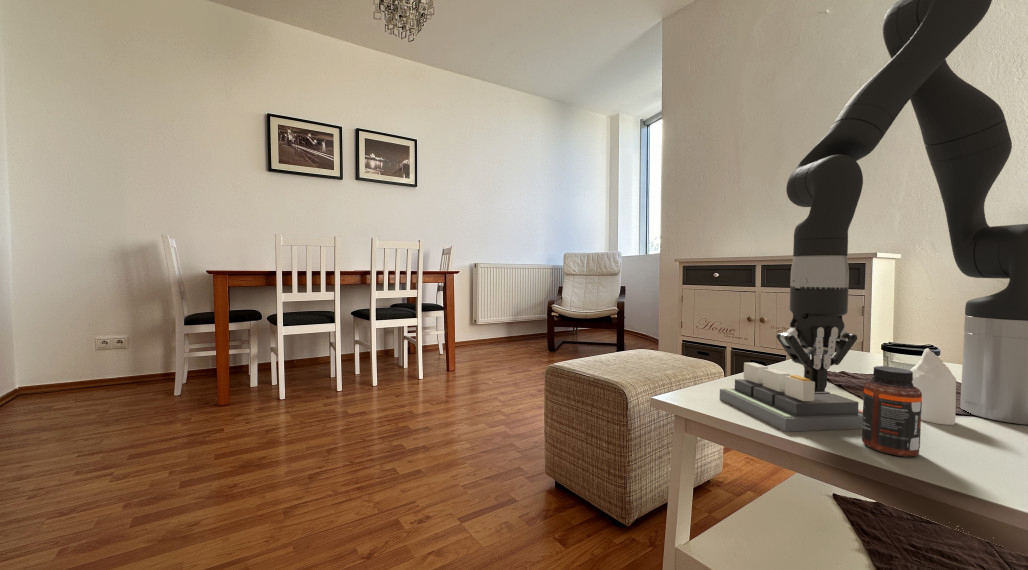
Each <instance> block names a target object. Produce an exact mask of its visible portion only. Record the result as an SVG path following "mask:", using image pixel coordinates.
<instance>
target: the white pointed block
mask: <svg viewBox="0 0 1028 570" xmlns="http://www.w3.org/2000/svg"><path fill="white" fill-rule="evenodd" d="M909 370H910V371H912V372H913V381H912V383H913V386H914V387H917V388H918V389H919V390H920V391H921V393H922V408H921V409H922V410H921V421H923V422H927V423H931V424H936V425H937V424H938V425H944V426H945V425H947V426H954V425H956V408H957V407H956V403H957V401H956V400H957V399H956V397H957V379H956V377H955V375H954V374H953V372H952V371H951V370H950V368H949V367H948V366H947V364H946V363H944V361H943V360H942V359H941V358H940V357H939V356H937V355H936V353H934V351H931V349H930V348H928V347H927V348H925V349H924V350H923V353H922V355H921V358H920V359H919V361H918V362H917V363H916V365H914V366H913V367H911V368H910V369H909Z"/></svg>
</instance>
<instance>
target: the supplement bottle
mask: <svg viewBox="0 0 1028 570" xmlns="http://www.w3.org/2000/svg"><path fill="white" fill-rule="evenodd" d="M910 370H911V369H907V368H903V367H902V368H901V367H894V366H885V365H884V366H883V365H880V366H879V365H878V366H877V365H876V366H873V374H872V375H873V378H871V379H870V380H867V381H866V382H865V383H864V386H863V401H862V411H863V423H862V429H861V439H862V440H861V441H862V443H863V444H864V445H866V446H867V447H869V448H870V449H872V450H875V451H878V452H880V453H882V454H883V453H884V454H886V455H892V456H897V457H905V458H909V457H910V458H912V457H915V456H919V454H920V448H921V430H922V429H921V427H922V420H921V410H922V409H921V408H922V393H921V391H920V390H919V389H918V388H917V387H914V386H913V383H912V381H913V372H912V371H910Z"/></svg>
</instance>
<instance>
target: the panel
mask: <svg viewBox="0 0 1028 570" xmlns="http://www.w3.org/2000/svg"><path fill="white" fill-rule="evenodd" d="M719 400H721V401H723V402H724V401H725V402H724V403H726V402H727V404H728V403H729V405H730V404H731V405H730V406H732V405H733V407H734V406H735V407H734V408H736V407H737V408H736V409H738V408H739V409H738V410H740V409H741V410H740V411H742V410H743V412H744V411H745V412H744V413H746V412H747V414H748V413H749V415H750V414H751V416H752V417H754V416H755V418H757V419H759V420H761V421H763V422H765V423H766V424H769V425H771V426H773V427H774V428H776V429H778V430H781V431H783V432H786V433H787V432H788V433H789V432H790V431H791V432H814V431H815V432H816V431H818V432H819V431H839V430H862V423H863V409H860V408H859V401H857V400H854V399H851V398H848V397H844V396H842V395H839V394H836V393H831V392H829V391H827V390H825V391H824V392H815V393H814V401H802V400H799V399H796V398H794V397H791V396H788V395H786V394H785V391H782V392H778V391H776V390H773V389H770V388H768V387H765V386H763V383H755V382H752V381H749V380H747V379H744V378H741V379H740V378H739V379H737V378H736V379H734V388H730V387H729V388H728V387H727V388H720V389H719ZM791 432H790V433H791Z"/></svg>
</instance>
